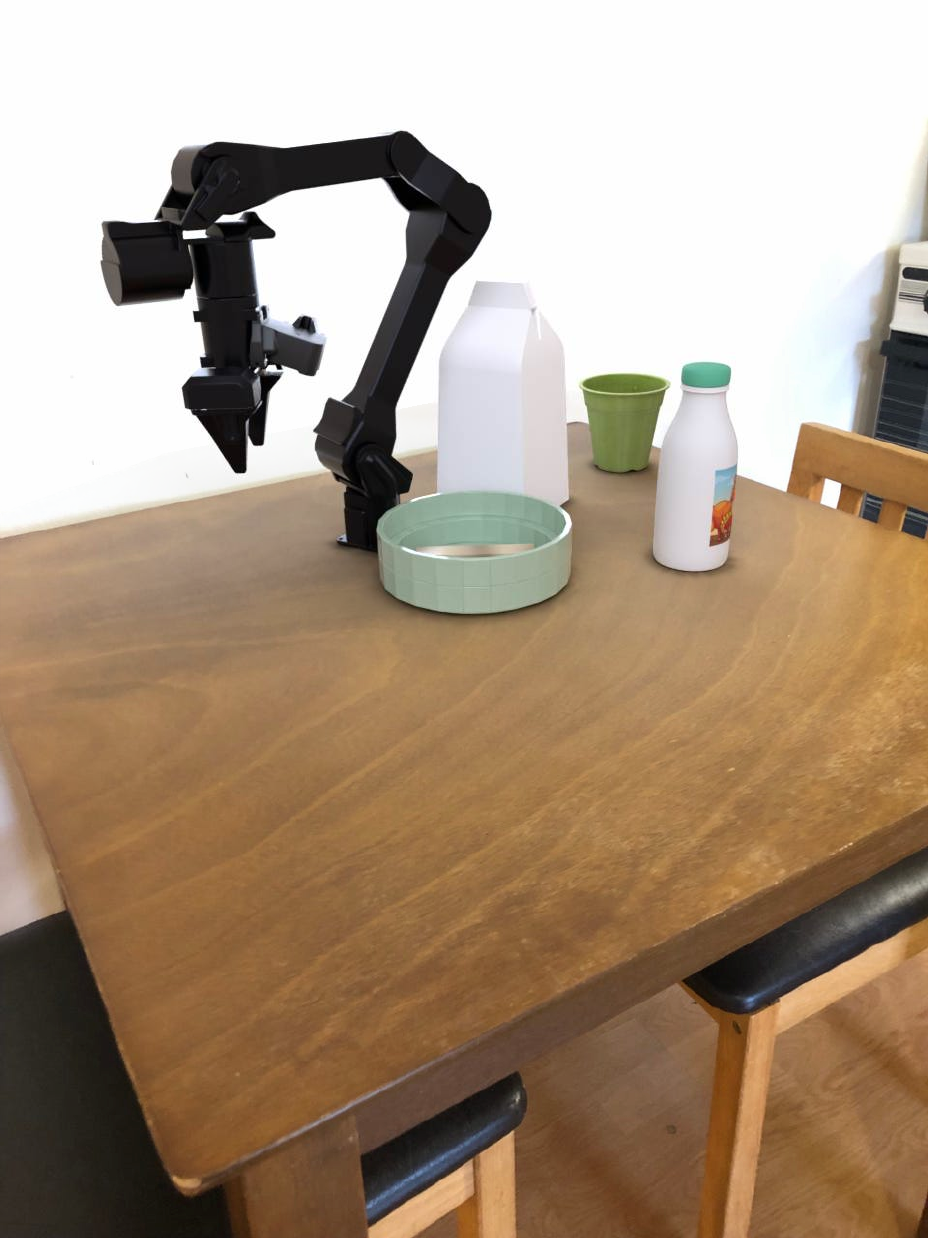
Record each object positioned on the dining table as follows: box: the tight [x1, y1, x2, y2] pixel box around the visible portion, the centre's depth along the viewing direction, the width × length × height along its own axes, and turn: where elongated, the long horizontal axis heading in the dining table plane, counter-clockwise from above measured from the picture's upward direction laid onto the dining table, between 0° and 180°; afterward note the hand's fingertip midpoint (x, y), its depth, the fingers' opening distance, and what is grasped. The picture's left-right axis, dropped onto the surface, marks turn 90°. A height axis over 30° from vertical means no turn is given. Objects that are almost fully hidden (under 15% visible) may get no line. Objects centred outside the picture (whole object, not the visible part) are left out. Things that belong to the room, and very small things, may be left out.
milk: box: [436, 278, 570, 507], centre depth 108 cm, size 12×12×26 cm
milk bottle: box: [652, 361, 739, 572], centre depth 93 cm, size 8×8×20 cm
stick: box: [416, 544, 535, 558], centre depth 94 cm, size 12×2×2 cm, turn 91°
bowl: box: [377, 490, 573, 615], centre depth 94 cm, size 19×19×6 cm
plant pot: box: [578, 372, 672, 474], centre depth 124 cm, size 12×12×11 cm
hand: (250, 458), depth 93 cm, fingers open, 9 cm apart
